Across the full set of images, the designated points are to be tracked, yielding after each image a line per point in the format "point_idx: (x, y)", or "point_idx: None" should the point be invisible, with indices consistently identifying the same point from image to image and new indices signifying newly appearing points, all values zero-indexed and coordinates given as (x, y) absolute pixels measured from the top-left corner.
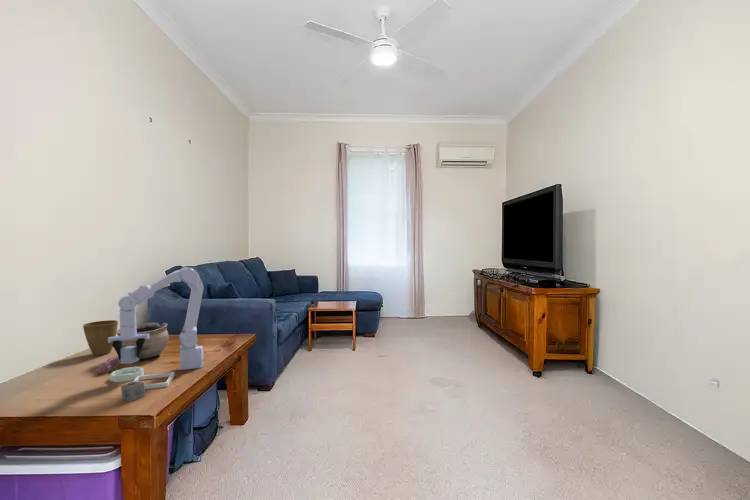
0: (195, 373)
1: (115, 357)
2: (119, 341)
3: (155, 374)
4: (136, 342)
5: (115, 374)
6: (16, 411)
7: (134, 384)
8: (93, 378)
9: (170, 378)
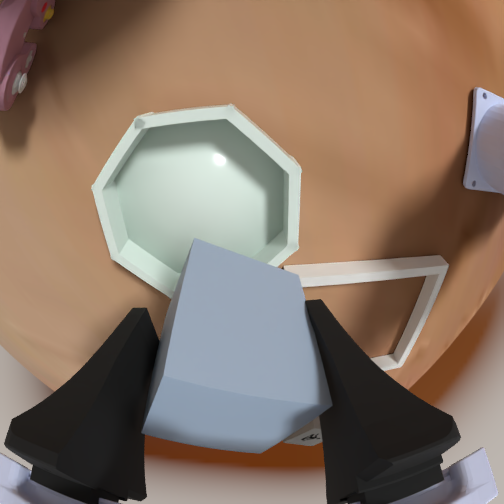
0: (491, 255)
1: (7, 10)
2: (108, 497)
3: (376, 280)
4: (332, 496)
5: (111, 180)
6: (56, 386)
7: (318, 437)
8: (19, 169)
9: (418, 332)
